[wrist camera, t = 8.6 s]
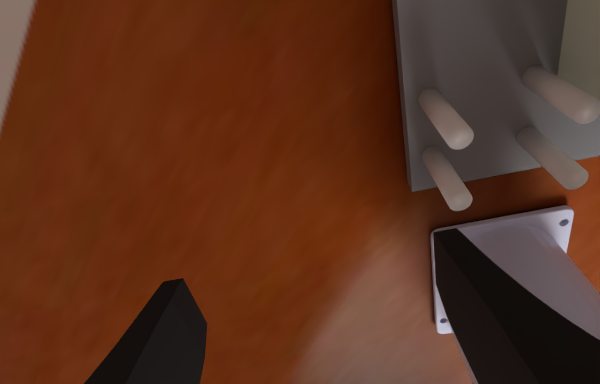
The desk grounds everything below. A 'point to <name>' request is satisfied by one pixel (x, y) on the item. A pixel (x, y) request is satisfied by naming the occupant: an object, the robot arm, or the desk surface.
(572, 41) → the pale rectangular block
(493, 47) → the dish rack
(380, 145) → the desk surface
